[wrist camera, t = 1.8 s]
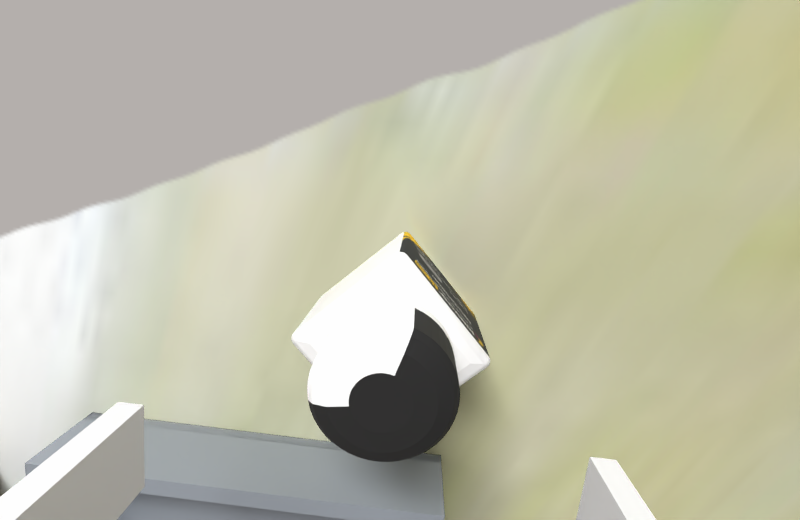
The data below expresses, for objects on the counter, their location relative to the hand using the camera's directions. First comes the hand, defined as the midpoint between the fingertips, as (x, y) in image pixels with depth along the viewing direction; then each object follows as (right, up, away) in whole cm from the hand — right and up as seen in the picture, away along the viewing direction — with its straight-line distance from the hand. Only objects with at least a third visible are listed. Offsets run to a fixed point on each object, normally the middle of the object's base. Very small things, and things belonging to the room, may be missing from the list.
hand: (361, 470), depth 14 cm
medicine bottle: (+1, +3, +16) cm, 16 cm away
